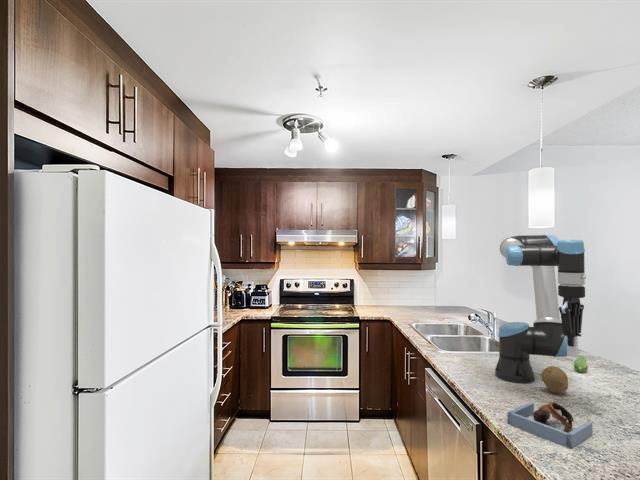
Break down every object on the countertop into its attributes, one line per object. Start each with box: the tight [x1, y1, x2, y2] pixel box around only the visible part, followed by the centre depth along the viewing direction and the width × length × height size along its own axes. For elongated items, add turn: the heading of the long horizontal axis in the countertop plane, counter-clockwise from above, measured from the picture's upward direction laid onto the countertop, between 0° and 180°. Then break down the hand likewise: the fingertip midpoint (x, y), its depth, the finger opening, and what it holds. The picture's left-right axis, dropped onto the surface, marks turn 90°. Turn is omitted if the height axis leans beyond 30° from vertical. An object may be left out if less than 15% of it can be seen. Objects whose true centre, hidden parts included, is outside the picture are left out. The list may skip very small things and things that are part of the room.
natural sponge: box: [540, 365, 569, 394], centre depth 142 cm, size 9×9×10 cm
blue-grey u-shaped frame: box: [506, 402, 594, 450], centre depth 113 cm, size 18×14×4 cm
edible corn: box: [573, 355, 588, 374], centre depth 172 cm, size 5×20×5 cm
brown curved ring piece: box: [532, 401, 575, 433], centre depth 113 cm, size 12×10×8 cm
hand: (572, 355), depth 123 cm, fingers closed
